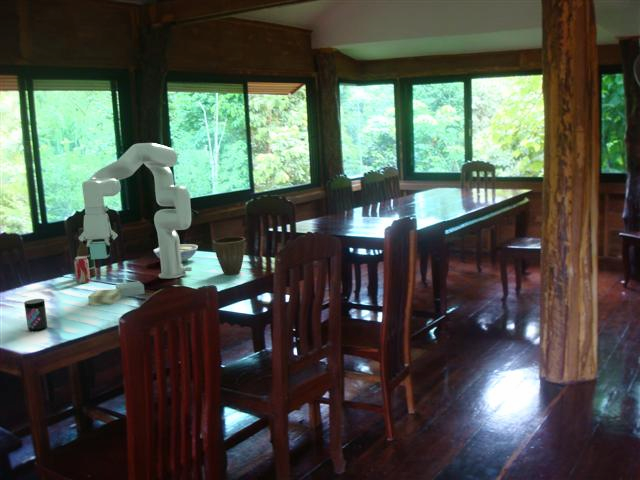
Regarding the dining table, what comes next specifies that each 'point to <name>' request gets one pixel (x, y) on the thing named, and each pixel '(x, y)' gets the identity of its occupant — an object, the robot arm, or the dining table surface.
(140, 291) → the slate block
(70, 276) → the dining table surface
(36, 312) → the supplement container
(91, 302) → the tan flat lump
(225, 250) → the plant pot
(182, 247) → the ramen bowl
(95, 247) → the teal cube
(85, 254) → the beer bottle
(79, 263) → the beverage can
